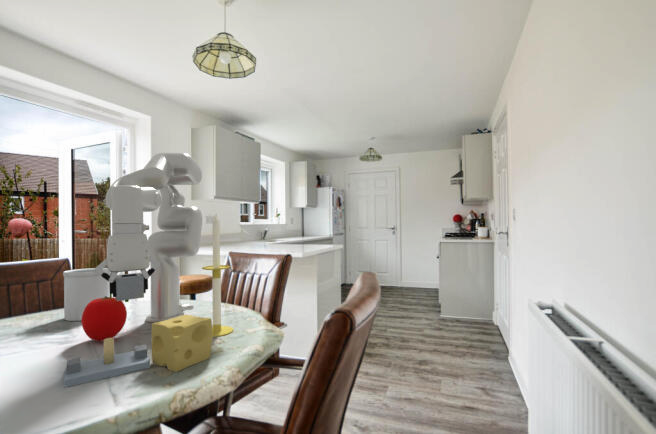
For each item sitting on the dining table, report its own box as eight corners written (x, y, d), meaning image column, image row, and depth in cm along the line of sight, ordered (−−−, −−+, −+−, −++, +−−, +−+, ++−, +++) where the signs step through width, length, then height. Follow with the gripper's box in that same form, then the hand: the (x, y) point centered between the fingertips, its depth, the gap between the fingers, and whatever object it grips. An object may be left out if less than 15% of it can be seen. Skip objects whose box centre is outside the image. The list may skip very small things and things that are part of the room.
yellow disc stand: (200, 339, 99) (199, 212, 100) (199, 329, 108) (198, 213, 109) (235, 334, 103) (233, 212, 103) (231, 325, 112) (230, 213, 113)
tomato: (72, 343, 97) (72, 298, 97) (109, 332, 107) (109, 291, 107) (99, 348, 93) (99, 301, 93) (134, 335, 103) (134, 293, 103)
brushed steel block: (141, 293, 98) (140, 272, 98) (143, 297, 93) (143, 275, 93) (115, 296, 94) (114, 275, 94) (116, 301, 89) (116, 278, 89)
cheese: (175, 373, 76) (175, 329, 76) (149, 363, 82) (148, 322, 82) (213, 357, 85) (213, 317, 85) (186, 349, 91) (186, 312, 91)
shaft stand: (144, 354, 87) (144, 327, 88) (150, 367, 79) (150, 337, 80) (66, 370, 78) (66, 340, 78) (64, 387, 70) (64, 353, 70)
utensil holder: (87, 310, 135) (87, 267, 136) (120, 311, 133) (120, 267, 134) (52, 321, 121) (52, 272, 121) (89, 322, 118) (89, 272, 119)
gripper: (160, 228, 101) (161, 287, 101) (89, 230, 91) (91, 296, 91) (164, 229, 95) (165, 292, 95) (89, 231, 85) (91, 302, 85)
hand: (129, 293), depth 93 cm, fingers closed on brushed steel block, 6 cm apart
